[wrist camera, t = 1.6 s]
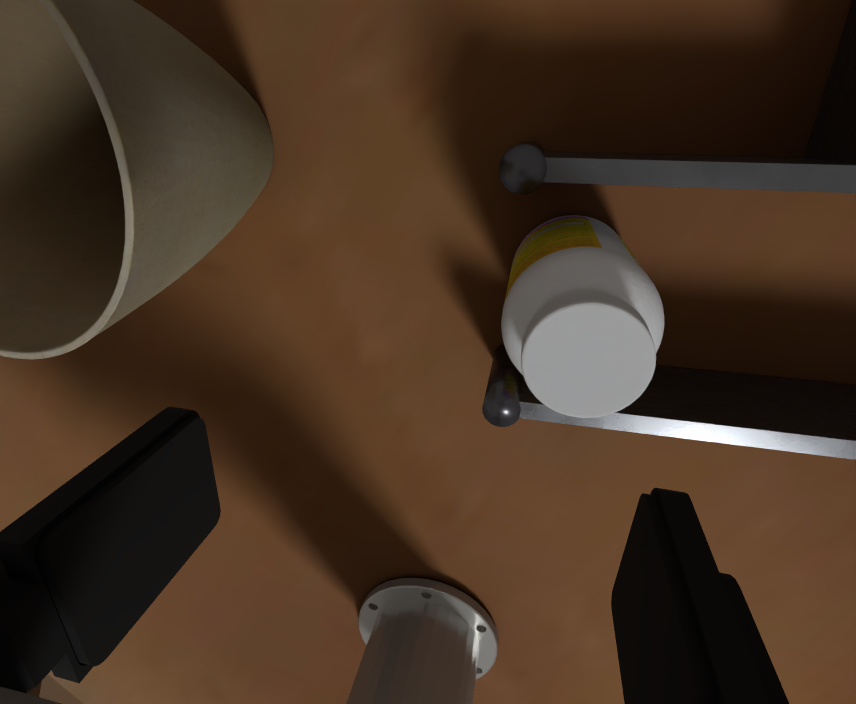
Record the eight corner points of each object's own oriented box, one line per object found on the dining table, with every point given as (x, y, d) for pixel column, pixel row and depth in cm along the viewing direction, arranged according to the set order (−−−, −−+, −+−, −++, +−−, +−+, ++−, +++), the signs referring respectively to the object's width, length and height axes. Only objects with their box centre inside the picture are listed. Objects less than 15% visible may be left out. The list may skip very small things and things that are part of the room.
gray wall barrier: (993, 422, 27) (1121, 505, 21) (492, 369, 33) (481, 424, 27) (1256, -29, 19) (1591, -103, 13) (521, -3, 24) (514, -48, 18)
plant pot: (170, -70, 26) (-273, -307, 12) (379, 130, 28) (210, 131, 14) (78, 155, 33) (-279, 174, 18) (252, 305, 35) (50, 427, 20)
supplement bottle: (491, 288, 30) (459, 383, 19) (552, 190, 27) (559, 234, 16) (583, 342, 31) (606, 469, 19) (654, 251, 28) (733, 338, 16)
